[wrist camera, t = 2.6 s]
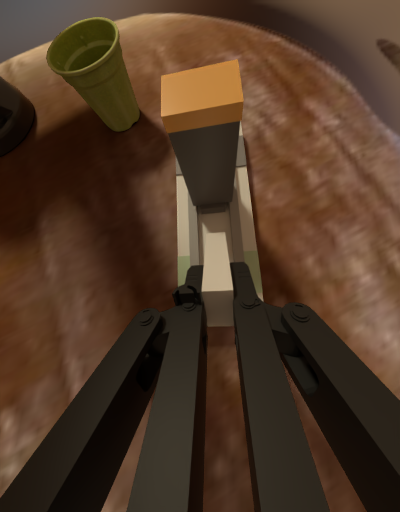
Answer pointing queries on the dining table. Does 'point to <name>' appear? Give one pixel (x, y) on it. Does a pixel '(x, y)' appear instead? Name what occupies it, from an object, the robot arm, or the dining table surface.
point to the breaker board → (218, 225)
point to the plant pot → (96, 70)
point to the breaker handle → (205, 129)
